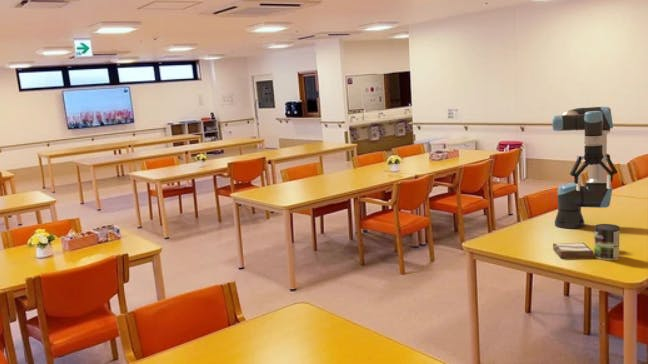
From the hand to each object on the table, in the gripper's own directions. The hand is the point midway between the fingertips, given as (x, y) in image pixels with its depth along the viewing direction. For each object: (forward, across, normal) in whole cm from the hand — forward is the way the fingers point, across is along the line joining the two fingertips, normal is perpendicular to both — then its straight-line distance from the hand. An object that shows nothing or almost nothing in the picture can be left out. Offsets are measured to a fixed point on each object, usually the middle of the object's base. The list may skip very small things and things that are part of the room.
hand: (593, 189), depth 258 cm
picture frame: (+28, -12, -8) cm, 32 cm away
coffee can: (+28, +1, -15) cm, 32 cm away
